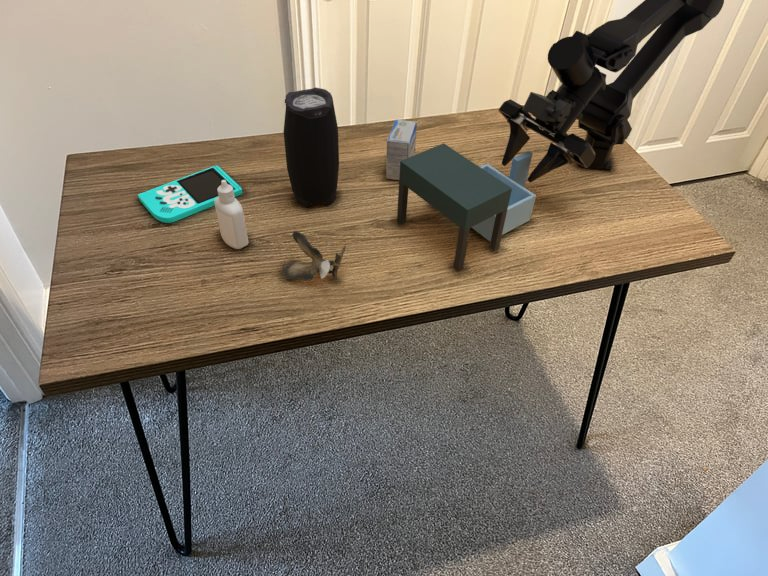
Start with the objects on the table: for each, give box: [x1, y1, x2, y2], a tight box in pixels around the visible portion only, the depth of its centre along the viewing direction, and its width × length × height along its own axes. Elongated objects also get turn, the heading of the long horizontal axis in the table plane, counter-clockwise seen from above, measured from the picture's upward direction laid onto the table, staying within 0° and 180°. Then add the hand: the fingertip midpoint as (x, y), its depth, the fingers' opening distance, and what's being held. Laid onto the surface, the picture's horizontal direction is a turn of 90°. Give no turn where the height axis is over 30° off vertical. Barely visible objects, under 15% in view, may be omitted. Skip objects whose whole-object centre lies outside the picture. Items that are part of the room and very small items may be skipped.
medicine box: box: [385, 119, 418, 181], centre depth 114 cm, size 8×4×9 cm, turn 168°
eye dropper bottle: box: [214, 180, 250, 250], centre depth 97 cm, size 4×6×12 cm
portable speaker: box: [283, 87, 340, 208], centre depth 103 cm, size 9×9×20 cm
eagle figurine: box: [283, 230, 347, 281], centre depth 94 cm, size 8×7×9 cm
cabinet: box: [396, 143, 512, 272], centre depth 99 cm, size 10×16×12 cm, turn 38°
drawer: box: [470, 150, 537, 242], centre depth 105 cm, size 14×12×10 cm
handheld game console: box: [137, 165, 244, 224], centre depth 109 cm, size 10×16×1 cm, turn 129°
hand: (515, 173), depth 106 cm, fingers open, 6 cm apart
